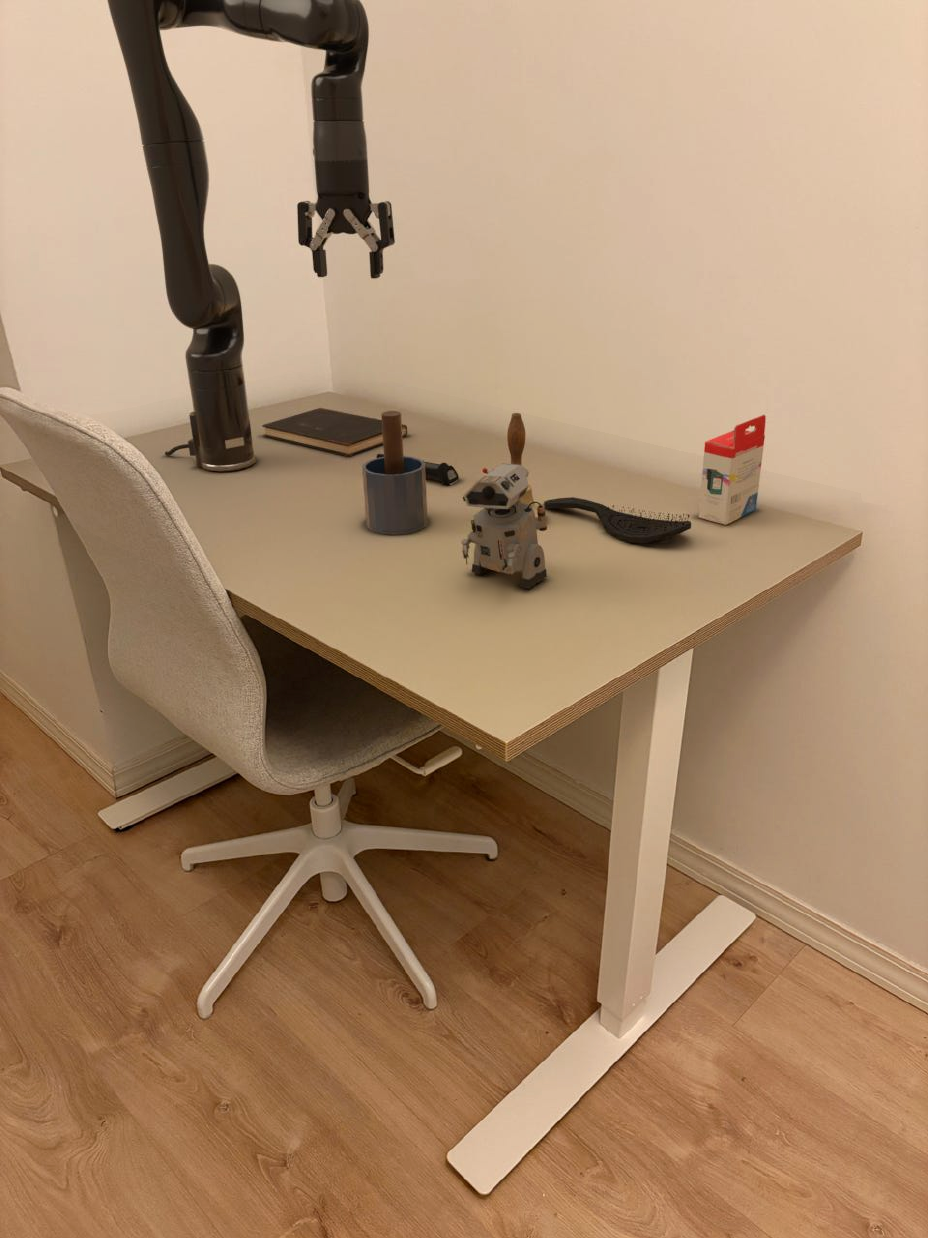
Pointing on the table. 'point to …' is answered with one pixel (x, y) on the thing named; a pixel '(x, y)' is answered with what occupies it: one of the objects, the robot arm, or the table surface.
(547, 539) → the table surface
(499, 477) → the figurine
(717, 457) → the ink box
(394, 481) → the cup
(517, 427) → the hand bell
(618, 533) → the hairbrush
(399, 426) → the stick
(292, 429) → the hardcover book
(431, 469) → the electric trimmer
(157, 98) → the robot arm
